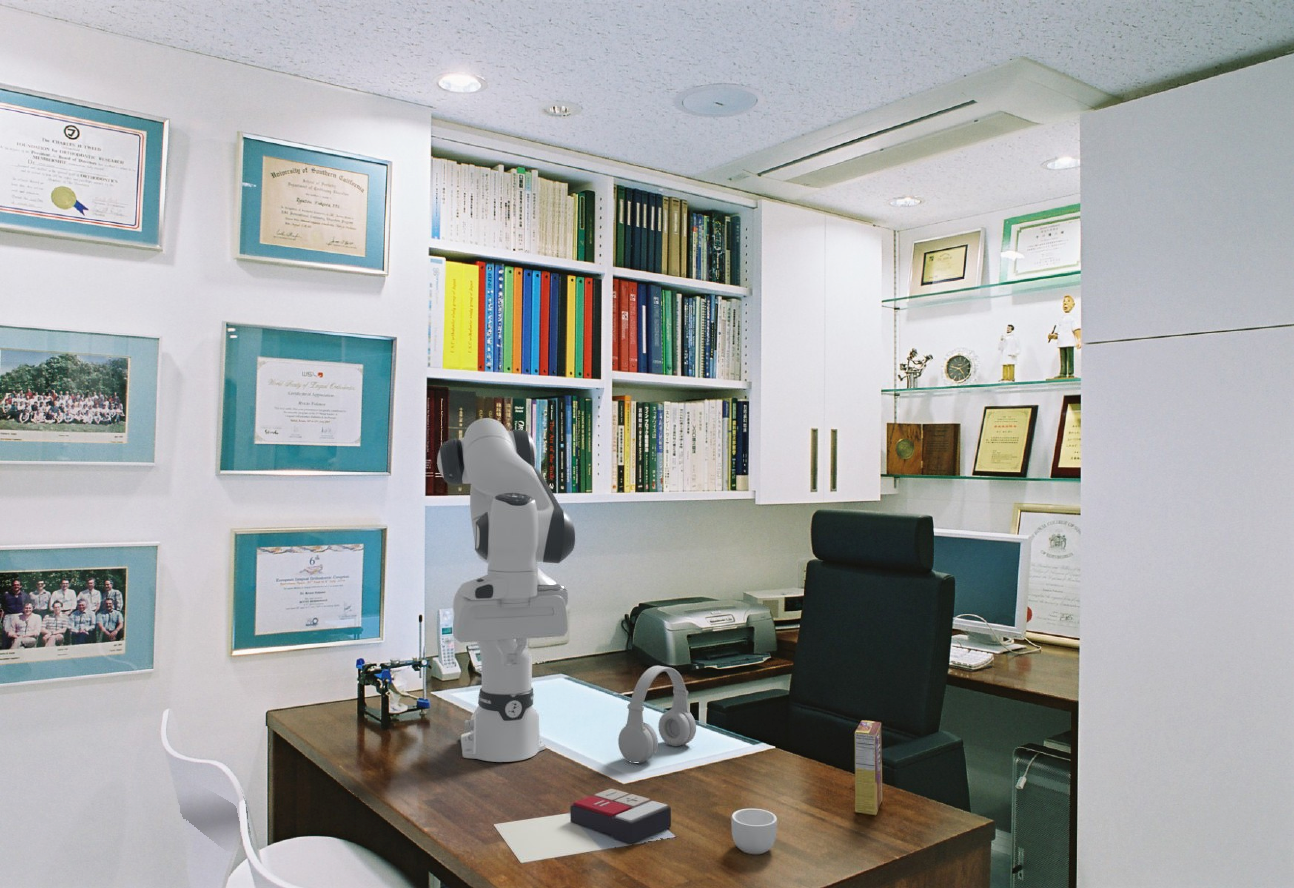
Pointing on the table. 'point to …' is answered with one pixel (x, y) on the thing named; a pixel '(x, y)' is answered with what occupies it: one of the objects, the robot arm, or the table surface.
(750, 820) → the teacup
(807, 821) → the table surface
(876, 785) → the candy box
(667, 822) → the calculator
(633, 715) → the headphones
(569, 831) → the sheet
